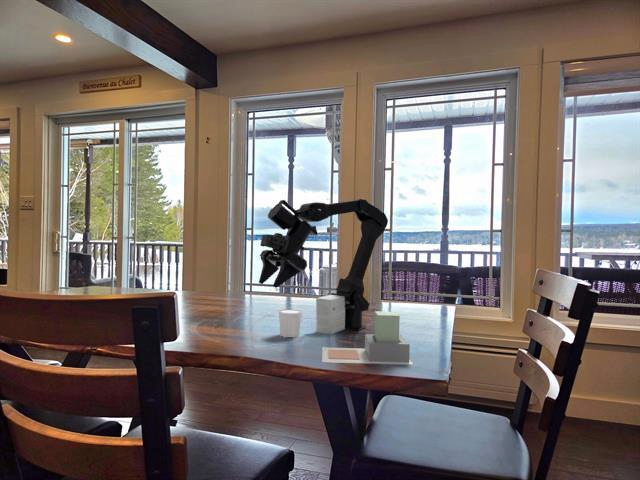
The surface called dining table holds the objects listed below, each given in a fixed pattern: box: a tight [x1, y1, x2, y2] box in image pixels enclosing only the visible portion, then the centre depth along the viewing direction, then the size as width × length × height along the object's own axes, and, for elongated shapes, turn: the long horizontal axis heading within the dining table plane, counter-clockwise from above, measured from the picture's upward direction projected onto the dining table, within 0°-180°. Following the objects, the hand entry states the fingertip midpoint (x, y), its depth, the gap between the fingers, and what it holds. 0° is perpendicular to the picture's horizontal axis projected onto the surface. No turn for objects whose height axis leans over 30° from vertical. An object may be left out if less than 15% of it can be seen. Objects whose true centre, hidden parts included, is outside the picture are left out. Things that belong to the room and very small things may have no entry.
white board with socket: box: [321, 333, 414, 366], centre depth 92 cm, size 12×20×5 cm, turn 89°
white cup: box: [278, 309, 303, 338], centre depth 115 cm, size 7×7×7 cm
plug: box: [373, 310, 400, 342], centre depth 92 cm, size 5×5×10 cm
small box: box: [315, 294, 345, 335], centre depth 121 cm, size 8×6×10 cm
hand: (267, 285), depth 109 cm, fingers open, 9 cm apart
